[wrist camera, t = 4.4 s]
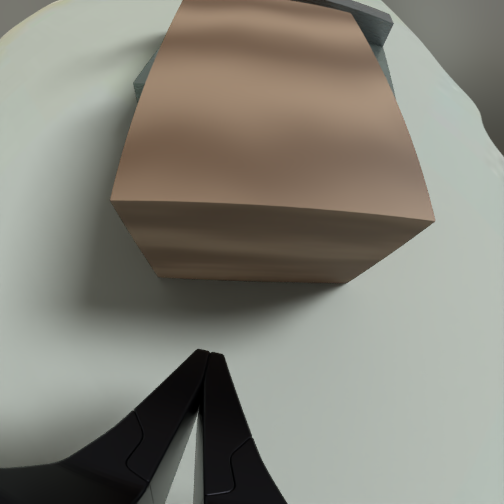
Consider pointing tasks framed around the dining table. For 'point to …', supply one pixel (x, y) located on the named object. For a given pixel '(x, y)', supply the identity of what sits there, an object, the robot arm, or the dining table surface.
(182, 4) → the workpiece block
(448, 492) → the dining table surface
